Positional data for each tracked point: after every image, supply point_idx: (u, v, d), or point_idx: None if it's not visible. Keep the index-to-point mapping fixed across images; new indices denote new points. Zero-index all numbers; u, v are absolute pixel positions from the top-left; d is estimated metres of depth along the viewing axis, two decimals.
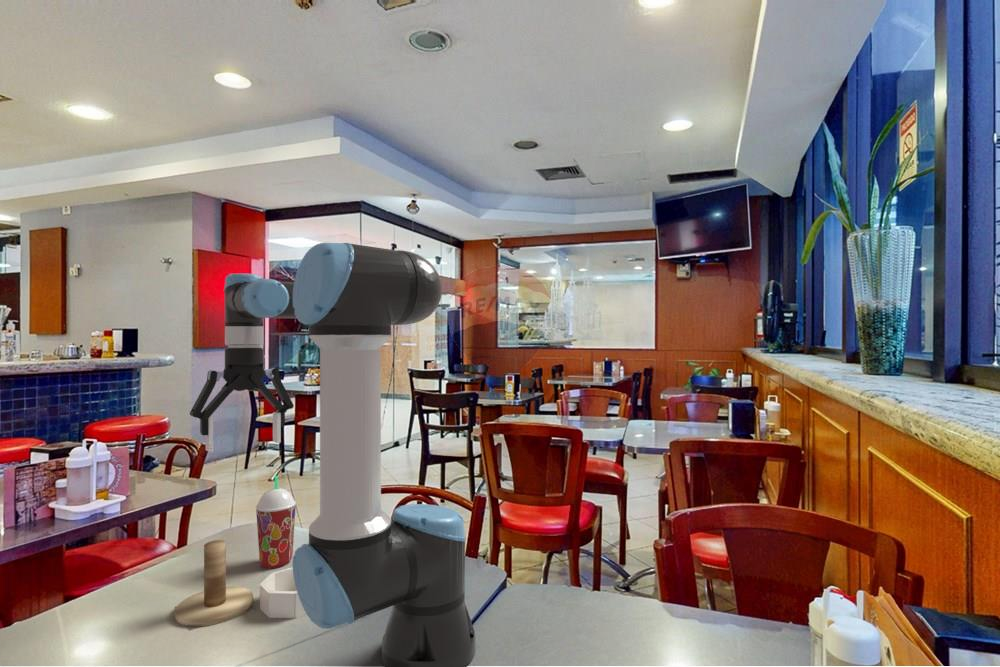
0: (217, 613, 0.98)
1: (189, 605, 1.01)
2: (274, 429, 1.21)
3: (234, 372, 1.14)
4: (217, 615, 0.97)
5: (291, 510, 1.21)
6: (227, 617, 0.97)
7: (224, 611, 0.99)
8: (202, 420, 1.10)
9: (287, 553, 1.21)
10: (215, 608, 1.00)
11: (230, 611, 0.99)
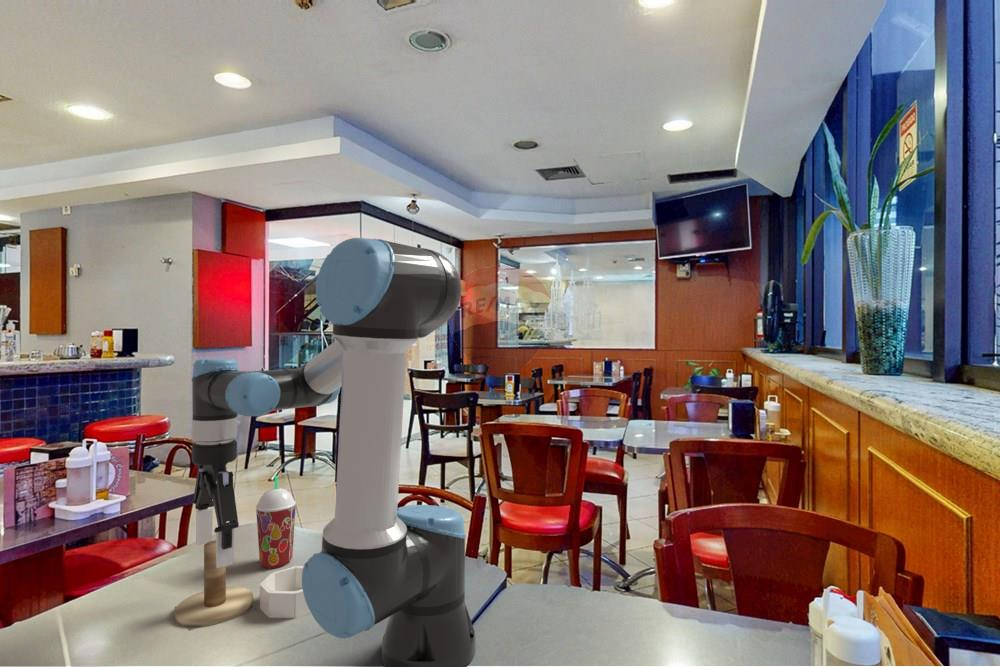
0: (217, 613, 0.98)
1: (189, 605, 1.01)
2: None
3: (204, 467, 1.03)
4: (217, 615, 0.97)
5: (291, 510, 1.21)
6: (227, 617, 0.97)
7: (224, 611, 0.99)
8: None
9: (287, 553, 1.21)
10: (215, 608, 1.00)
11: (230, 611, 0.99)
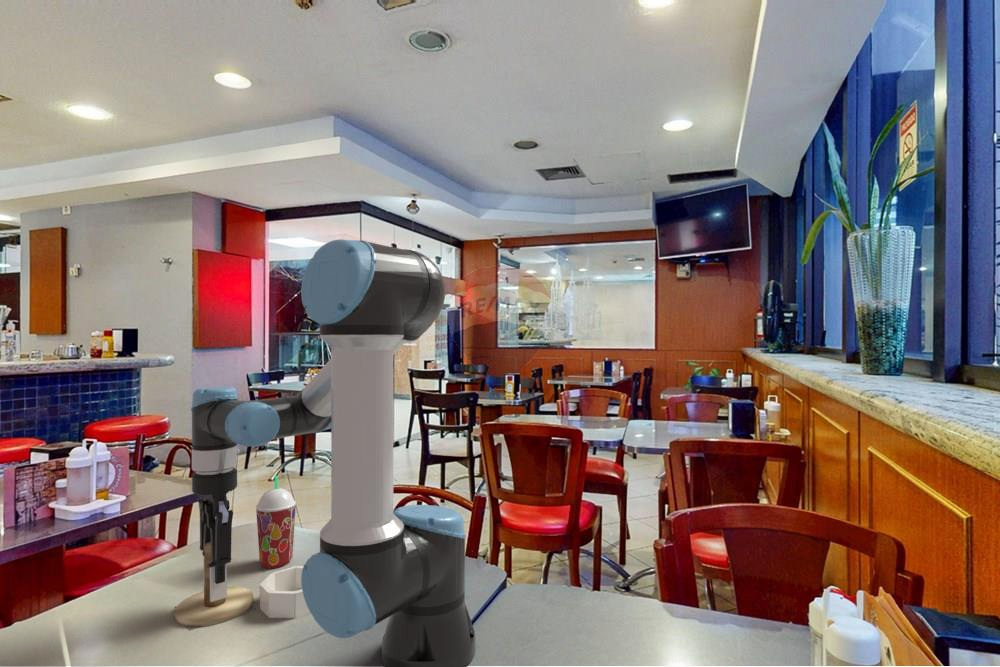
0: (217, 613, 0.98)
1: (189, 605, 1.01)
2: None
3: (204, 494, 1.03)
4: (217, 615, 0.97)
5: (291, 510, 1.21)
6: (227, 617, 0.97)
7: (224, 611, 0.99)
8: None
9: (287, 553, 1.21)
10: (215, 608, 1.00)
11: (230, 611, 0.99)
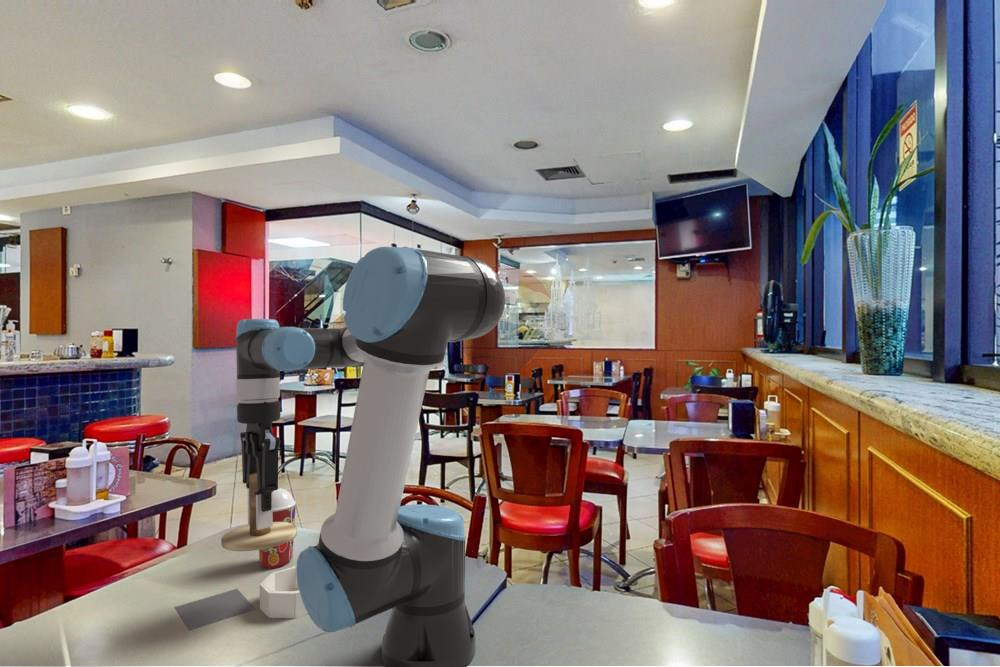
0: (265, 540, 0.99)
1: (234, 535, 1.01)
2: None
3: (248, 426, 1.04)
4: (265, 541, 0.98)
5: (291, 510, 1.21)
6: (275, 543, 0.98)
7: (271, 538, 0.99)
8: None
9: (287, 553, 1.21)
10: (262, 536, 1.00)
11: (277, 537, 0.99)
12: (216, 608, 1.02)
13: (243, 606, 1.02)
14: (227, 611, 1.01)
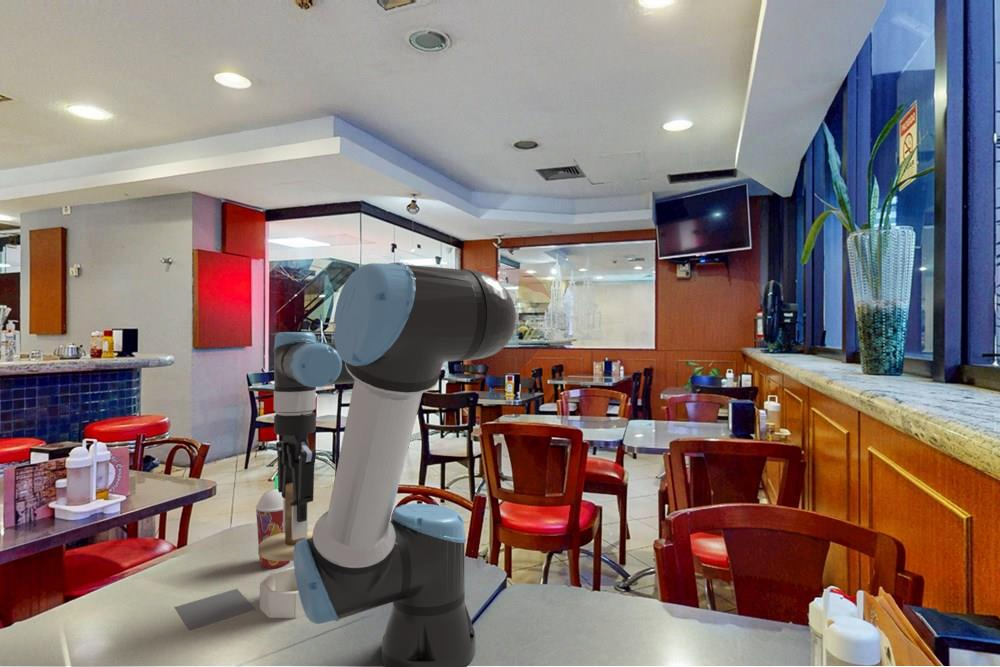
0: None
1: (271, 543, 1.03)
2: None
3: (284, 437, 1.05)
4: None
5: None
6: None
7: None
8: None
9: None
10: None
11: None
12: (216, 608, 1.02)
13: (243, 606, 1.02)
14: (227, 611, 1.01)
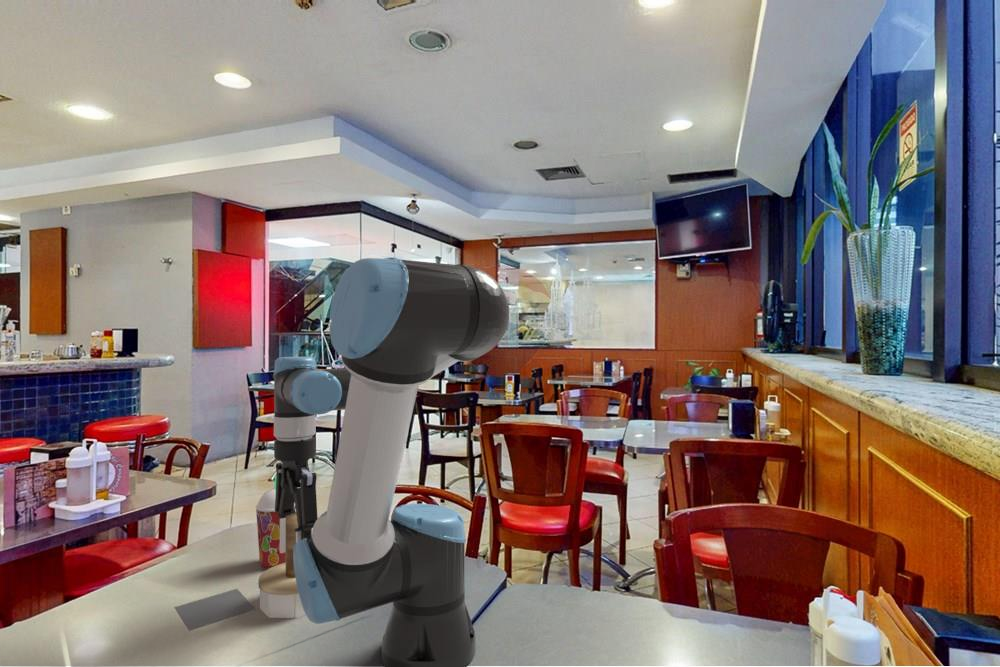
0: None
1: (271, 575, 1.03)
2: None
3: (284, 462, 1.05)
4: None
5: None
6: None
7: None
8: None
9: None
10: None
11: None
12: (216, 608, 1.02)
13: (243, 606, 1.02)
14: (227, 611, 1.01)
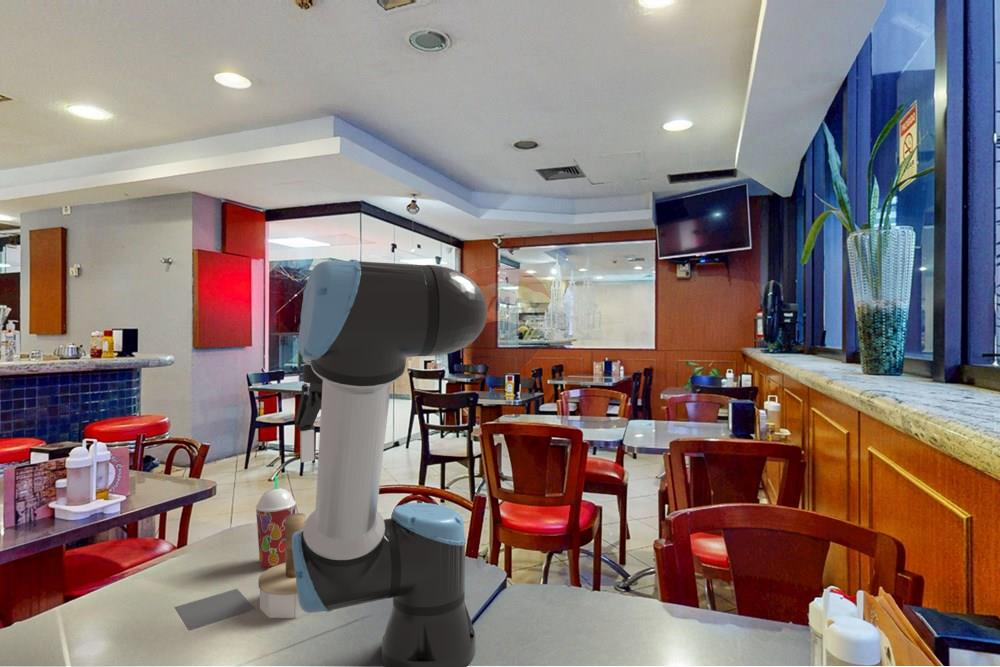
0: None
1: (271, 575, 1.03)
2: None
3: (312, 388, 1.12)
4: None
5: (291, 510, 1.21)
6: None
7: None
8: None
9: None
10: None
11: None
12: (216, 608, 1.02)
13: (243, 606, 1.02)
14: (227, 611, 1.01)
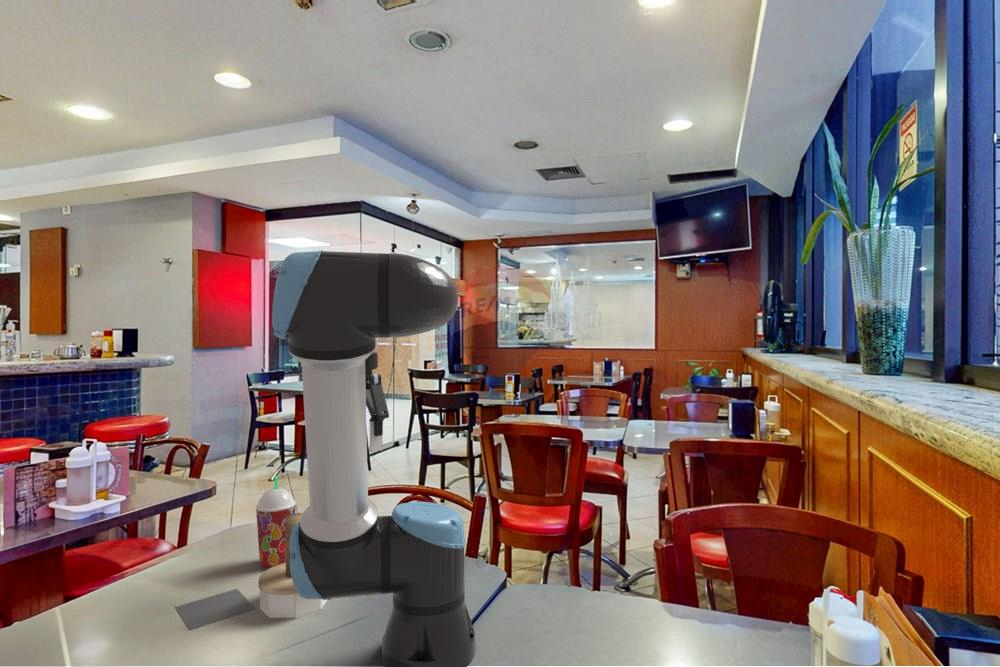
0: None
1: (271, 575, 1.03)
2: None
3: None
4: None
5: (291, 510, 1.21)
6: None
7: None
8: None
9: None
10: None
11: None
12: (216, 608, 1.02)
13: (243, 606, 1.02)
14: (227, 611, 1.01)
